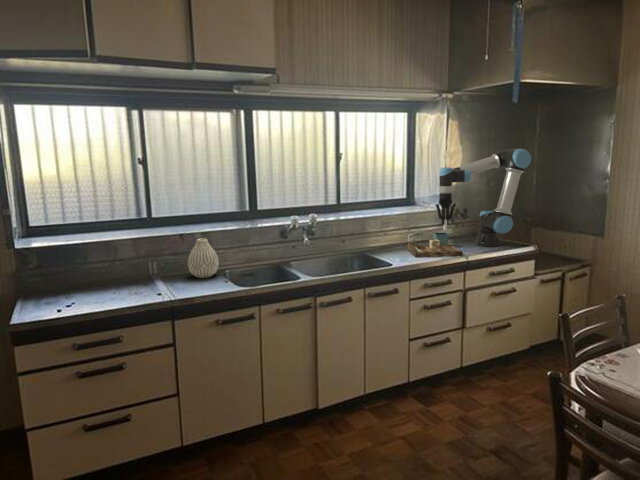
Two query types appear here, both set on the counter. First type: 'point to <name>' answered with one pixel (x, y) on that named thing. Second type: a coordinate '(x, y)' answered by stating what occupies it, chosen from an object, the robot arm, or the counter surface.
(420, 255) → the wooden tray
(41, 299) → the counter surface
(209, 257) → the vase
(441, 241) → the flower pot
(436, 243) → the block
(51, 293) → the counter surface
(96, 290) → the counter surface
